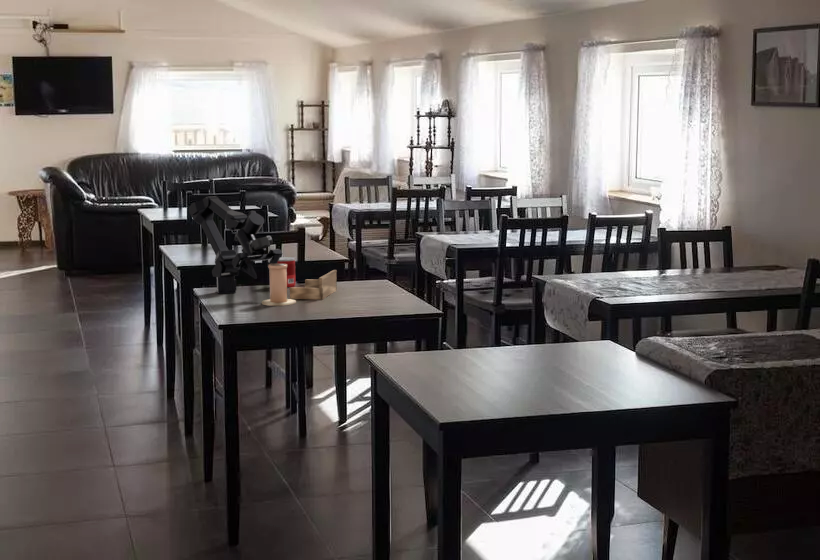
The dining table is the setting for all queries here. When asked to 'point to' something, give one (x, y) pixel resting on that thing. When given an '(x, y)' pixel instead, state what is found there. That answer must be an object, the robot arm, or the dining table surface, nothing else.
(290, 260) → the canned food
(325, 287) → the cold frame
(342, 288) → the dining table surface
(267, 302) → the cream flat disc
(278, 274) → the terracotta pot
